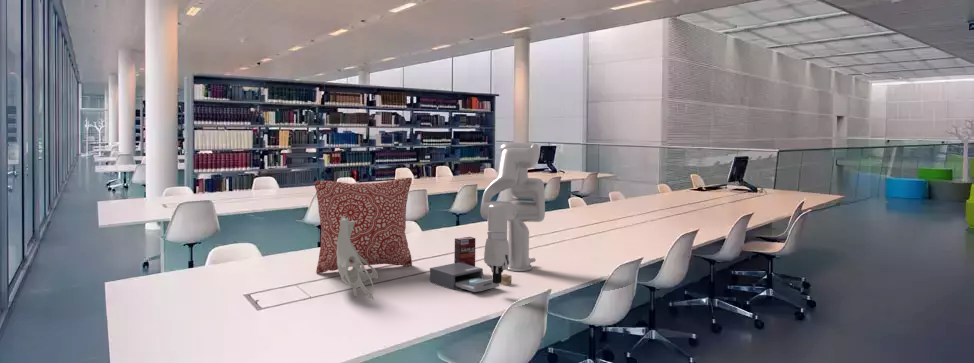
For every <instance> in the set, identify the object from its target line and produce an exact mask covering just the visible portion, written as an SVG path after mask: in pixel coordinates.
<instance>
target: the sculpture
mask: <svg viewBox="0 0 974 363" xmlns="http://www.w3.org/2000/svg"><path fill="white" fill-rule="evenodd" d="M354 224H355V222H354V221H353V220H352V221H349V220H348V218H345V217H344V216H342V218H341V220H340V230H339V235H338V240H337V266H338V273H339V276H340V279H341V281H342V283H345V284H346V285H348V286H350V287H351V288H352V290H353V296H354V298H356V297H357V296H358V292H357V288H360V289H361V290H362V291H363V292H364V295H365V296H367V295H368V298H371V300H374V301H375V298H374V296H373V293H374V292H375V285H374V283H373V280H372V279H379V273H378V272H377V270H376V269H375V268H374V267H373V265H369V264H368V263H367V262H366V261H365V260H364V259H363V258H362V257H361V256H360V255H359V254H358V252H357V251H356V249H355V248H354V246H353V244H352V243H351V241H350V237H351V233H352V230H353V227H354ZM349 258H350V259H351V260H352V261H353V263H350V262H349ZM360 260H361V261H362V262H363V263H365V264H366V265H363V263H362V262H361V261H360ZM359 263H360V264H361V265H360V264H359ZM350 266H353V267H350ZM366 266H367V267H368V268H370V269H371V271H372V272H370V273H369V272H368V270H367V269H366ZM349 268H352V269H351V270H349ZM369 280H370V283H371V286H372V291H369V288H367V287H366V286H365V284H364V283H363V282H367V281H369Z"/></svg>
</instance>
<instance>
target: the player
mask: <svg viewBox="0 0 974 363" xmlns="http://www.w3.org/2000/svg"><path fill="white" fill-rule="evenodd" d="M483 269H484V268H482V267H478V266H476V265H475V266H471V265H467V264H464V263H460V262H458V263H454V262H453V263H450V264H443V265H440V266H439V265H438V266H433V267H430V268H429V282H430V283H431V284H435V285H438V286H441V287H444V288H447V289H450V290H453V291H455V290H459V289H461V288H460V287H457V286H455V282H459V281H464V280H468V279H473V278H478V277H479V278H482V279H484V276H483V275H484V274H483V273H484V272H483V271H484V270H483Z"/></svg>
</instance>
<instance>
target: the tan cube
mask: <svg viewBox="0 0 974 363" xmlns="http://www.w3.org/2000/svg"><path fill="white" fill-rule="evenodd" d="M499 285H503V286H508V285H512V275H510V274H507V273H504V274H502V278H501V283H499Z"/></svg>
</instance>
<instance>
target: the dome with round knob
mask: <svg viewBox="0 0 974 363" xmlns="http://www.w3.org/2000/svg"><path fill="white" fill-rule="evenodd" d="M483 279H484V278H483ZM483 279H470V280H469V285H470V286H474V283H476V282H480V281H484V280H483Z"/></svg>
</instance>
